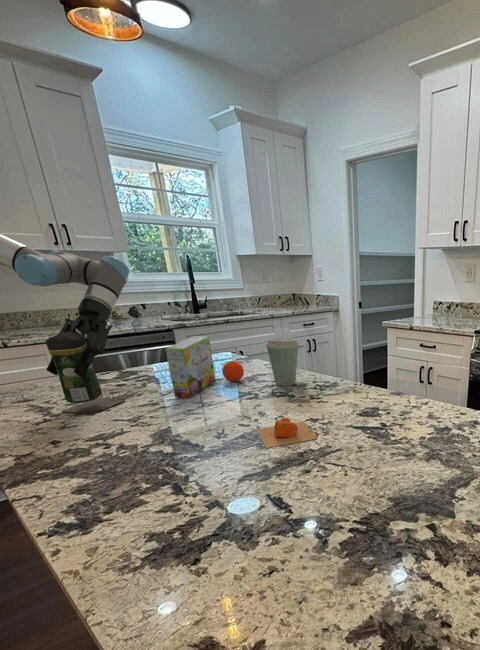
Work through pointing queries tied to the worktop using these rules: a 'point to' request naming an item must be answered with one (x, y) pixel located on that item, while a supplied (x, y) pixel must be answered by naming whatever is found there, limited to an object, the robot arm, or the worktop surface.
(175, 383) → the snack box
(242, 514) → the worktop surface
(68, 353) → the coffee jar
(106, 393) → the worktop surface
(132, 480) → the worktop surface
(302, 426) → the orange chunks on board
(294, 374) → the disposable coffee cup
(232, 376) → the clementine
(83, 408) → the walnut coaster
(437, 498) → the worktop surface
